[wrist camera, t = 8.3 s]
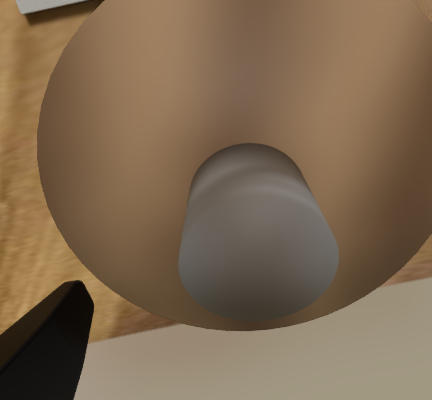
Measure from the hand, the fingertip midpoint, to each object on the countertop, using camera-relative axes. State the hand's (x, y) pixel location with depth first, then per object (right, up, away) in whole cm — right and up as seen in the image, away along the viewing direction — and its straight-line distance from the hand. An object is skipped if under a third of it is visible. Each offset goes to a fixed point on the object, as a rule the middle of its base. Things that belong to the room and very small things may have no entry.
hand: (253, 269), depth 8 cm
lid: (0, +2, +4) cm, 5 cm away
